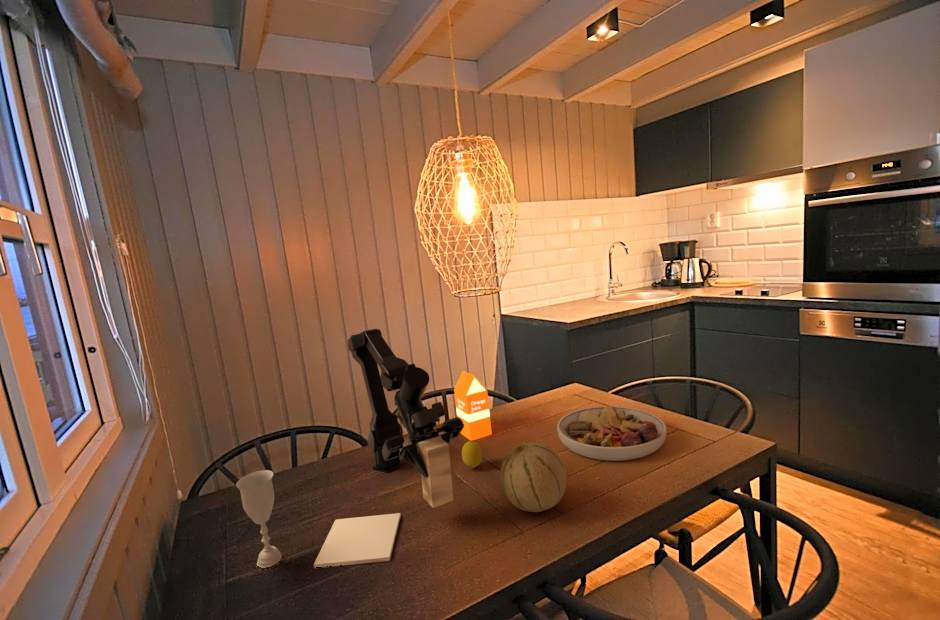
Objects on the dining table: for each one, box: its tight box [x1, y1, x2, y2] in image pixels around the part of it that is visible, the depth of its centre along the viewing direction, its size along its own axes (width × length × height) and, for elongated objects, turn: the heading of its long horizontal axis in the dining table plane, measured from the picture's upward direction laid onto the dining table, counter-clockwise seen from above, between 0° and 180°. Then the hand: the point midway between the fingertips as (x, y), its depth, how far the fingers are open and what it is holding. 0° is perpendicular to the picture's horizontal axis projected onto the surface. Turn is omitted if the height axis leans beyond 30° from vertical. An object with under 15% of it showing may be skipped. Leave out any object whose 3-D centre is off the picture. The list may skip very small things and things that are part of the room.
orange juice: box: [453, 370, 493, 441], centre depth 145 cm, size 8×9×20 cm
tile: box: [313, 512, 401, 569], centre depth 97 cm, size 15×15×1 cm
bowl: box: [556, 405, 667, 462], centre depth 131 cm, size 30×30×8 cm
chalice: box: [235, 469, 283, 568], centre depth 92 cm, size 7×7×18 cm
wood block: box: [417, 437, 454, 509], centre depth 100 cm, size 5×5×13 cm
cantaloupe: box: [500, 441, 568, 513], centre depth 102 cm, size 15×15×15 cm
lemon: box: [461, 439, 483, 469], centre depth 123 cm, size 6×6×8 cm
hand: (438, 472), depth 98 cm, fingers closed on wood block, 5 cm apart
